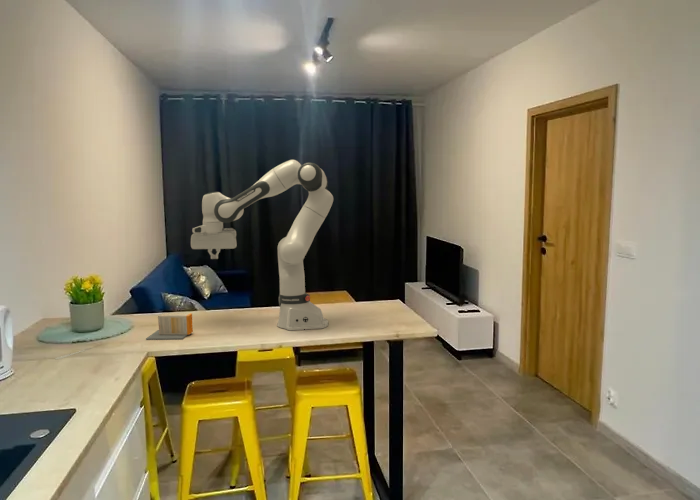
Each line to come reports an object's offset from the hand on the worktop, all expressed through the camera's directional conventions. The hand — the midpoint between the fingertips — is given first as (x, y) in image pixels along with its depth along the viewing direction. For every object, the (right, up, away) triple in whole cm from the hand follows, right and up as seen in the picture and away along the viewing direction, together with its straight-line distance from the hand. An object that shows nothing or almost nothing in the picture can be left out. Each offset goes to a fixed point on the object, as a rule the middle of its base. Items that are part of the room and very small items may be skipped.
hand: (214, 258), depth 234 cm
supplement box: (-5, -27, -19) cm, 33 cm away
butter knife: (-40, -35, -36) cm, 64 cm away
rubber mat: (-14, -32, -18) cm, 39 cm away
